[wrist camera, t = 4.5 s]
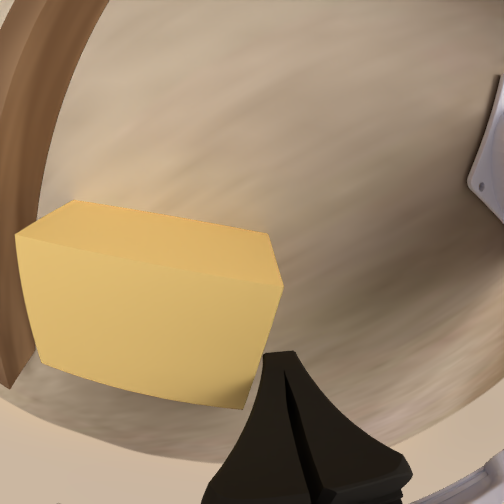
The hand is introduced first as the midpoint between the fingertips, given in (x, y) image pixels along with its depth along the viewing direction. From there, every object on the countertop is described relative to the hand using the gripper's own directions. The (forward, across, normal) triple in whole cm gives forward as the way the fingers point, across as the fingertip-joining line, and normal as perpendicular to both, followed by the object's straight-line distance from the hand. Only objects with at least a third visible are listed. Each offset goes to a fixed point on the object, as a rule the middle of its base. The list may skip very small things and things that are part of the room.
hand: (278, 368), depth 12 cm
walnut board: (+3, +11, -9) cm, 15 cm away
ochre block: (+3, +5, -3) cm, 7 cm away
